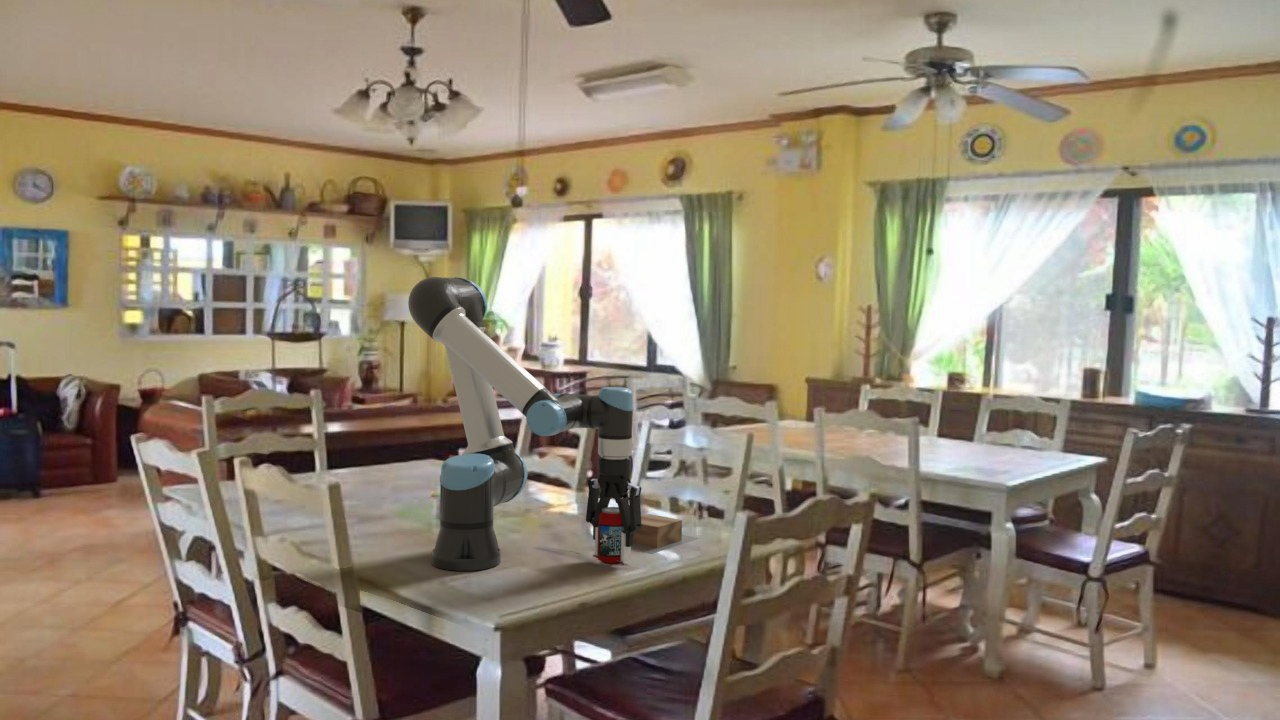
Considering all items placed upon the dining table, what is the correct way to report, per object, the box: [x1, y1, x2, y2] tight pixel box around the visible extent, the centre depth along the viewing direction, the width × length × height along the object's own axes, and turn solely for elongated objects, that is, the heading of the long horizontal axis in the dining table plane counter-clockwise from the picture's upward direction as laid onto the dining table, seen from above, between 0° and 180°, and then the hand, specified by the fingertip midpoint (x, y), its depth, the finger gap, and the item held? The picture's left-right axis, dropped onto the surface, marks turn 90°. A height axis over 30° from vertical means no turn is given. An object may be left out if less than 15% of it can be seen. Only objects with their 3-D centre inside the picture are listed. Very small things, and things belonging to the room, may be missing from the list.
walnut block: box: [633, 513, 683, 548], centre depth 244 cm, size 10×10×5 cm
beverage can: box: [597, 506, 624, 566], centre depth 228 cm, size 7×7×12 cm
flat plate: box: [631, 534, 701, 555], centre depth 244 cm, size 20×14×1 cm
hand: (612, 557), depth 228 cm, fingers closed on beverage can, 7 cm apart
